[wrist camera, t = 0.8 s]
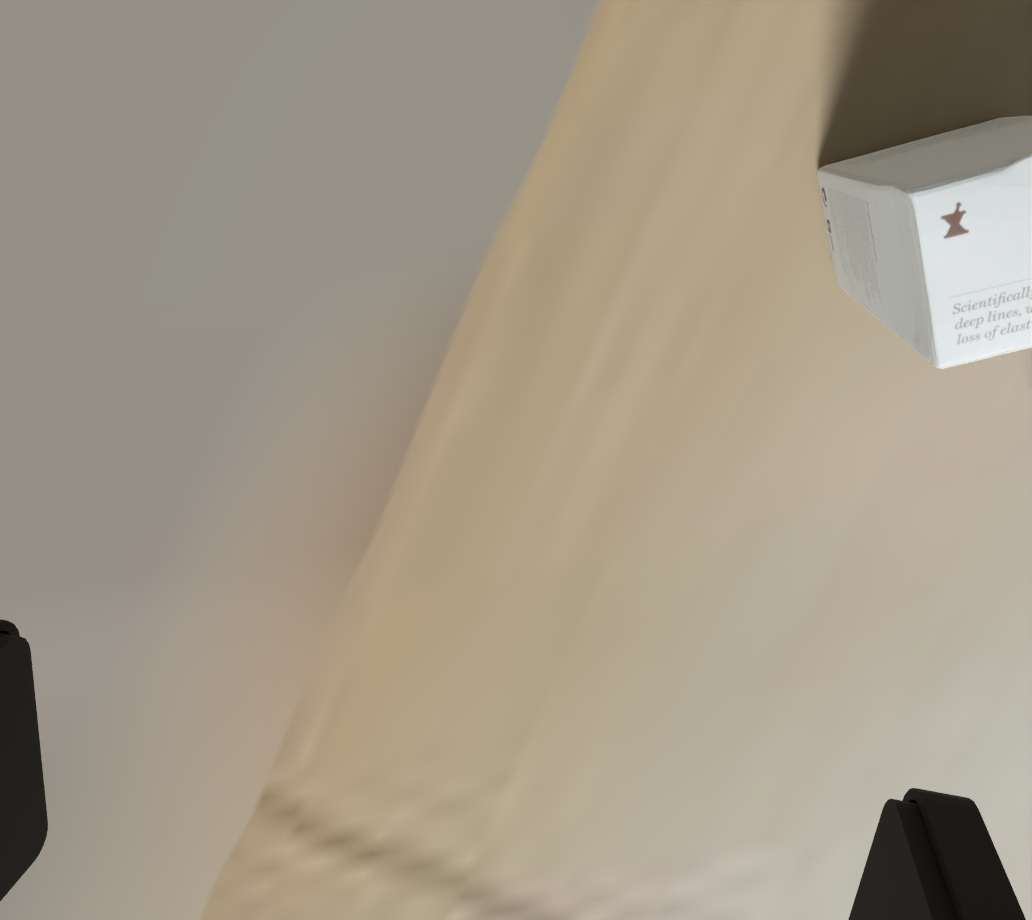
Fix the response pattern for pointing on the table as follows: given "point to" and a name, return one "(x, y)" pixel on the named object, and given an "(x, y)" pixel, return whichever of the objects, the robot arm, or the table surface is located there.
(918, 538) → the table surface
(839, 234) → the skincare box
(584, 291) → the table surface
